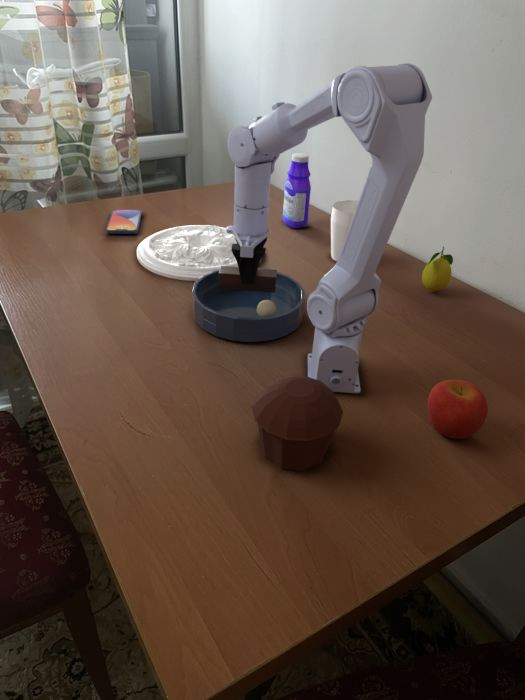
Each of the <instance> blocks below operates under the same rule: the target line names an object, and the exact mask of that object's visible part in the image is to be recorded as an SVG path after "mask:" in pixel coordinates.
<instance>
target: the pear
mask: <svg viewBox="0 0 525 700" xmlns="http://www.w3.org/2000/svg"><path fill="white" fill-rule="evenodd" d="M444 250H445V246H442V250H441V251H440V252H435V253H434V254H433V255H432V256H431V257H430V260H429V261H428V263H426V265H425V267H424V268H423V270H422V274H421V282H422V284H423V286H424V287H425V288H426V289H428V290H429V291H430V292H432V293H435V292H437V291H441V290H443V289H446V288H447V287H448V285H449V284H450V282H451V278H452V264H453V262H454V257H453V256H452V254H449V253H447V254H444Z"/></svg>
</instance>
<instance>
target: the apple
mask: <svg viewBox="0 0 525 700" xmlns="http://www.w3.org/2000/svg"><path fill="white" fill-rule="evenodd" d="M427 411H428V412H427V413H428V419H429V423H430V424H431V427H432V428H433V429H434V430H435V431H436V432H437V433H439V435H442V436H443V437H446V438H448V439H456V440H460V439H466V438H469V437H471V436H472V435H474V434H477V432H479V430H480V429H481V428H482V426H483V425H484V424H485V422H486V419H487V417H488V413H489V406H488V402H487V399H486V396H485V395H484V393H483V392H482V391H481V390H480V389H479V387H478V386H476V385H474V384H473V383H471V382H469V381H466V380H463V379H445V380H442V381H440V382H438V383H436V384H435V385H434V386H433V388H432V389H431V390H430V392H429V395H428V397H427Z"/></svg>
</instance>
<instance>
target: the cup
mask: <svg viewBox="0 0 525 700" xmlns="http://www.w3.org/2000/svg"><path fill="white" fill-rule="evenodd" d="M358 201H359V200H350V199H349V200H347V199H346V200H338V201H335V202H334V203H333V205H332V210H331V215H330V257H331V259H332V260H333V261H335V262H337V260H338V257H339V254H340V252H341V249H342V246H343V243H344V240H345V237H346V235H347V232H348V229H349V226H350V223H351V221H352V218H353V215H354V212H355V209H356V207H357V204H358Z"/></svg>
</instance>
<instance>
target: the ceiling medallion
mask: <svg viewBox="0 0 525 700" xmlns="http://www.w3.org/2000/svg"><path fill="white" fill-rule="evenodd" d="M226 229H227V227H223V226H218V225H211V224H193V225H192V224H189V225H180V226H175V227H169V228H167V229H163V230H160V231H157V232H155V233H153V234H151V235H149V236H147V237H145V238H144V239H143V240H142V241H141V242H140V243H139V244H138V246H137V247H136V259H137V262H138V263H139V264H140V265H141V266H142V267H143V268H144V269H146V270H148V271H149V272H152V273H153V274H156V275H158V276H160V277H161V276H162V277H164V278H168V279H174V280H180V281H186V282H187V281H188V282H196V281H198V280H199V279H200V278H201V277H202V276H204V275H206V274H209V273H211V272H213V271H216V270H220V267H221V266H230V267H238V264H237V261H236V259H235V257H234V255H233V253H232V244H237V242H236V240H235V237H234V235H233V234H229V233H227V232H226ZM262 259H263V258H262ZM262 259H261V261H262ZM261 261H260V263H261Z"/></svg>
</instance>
